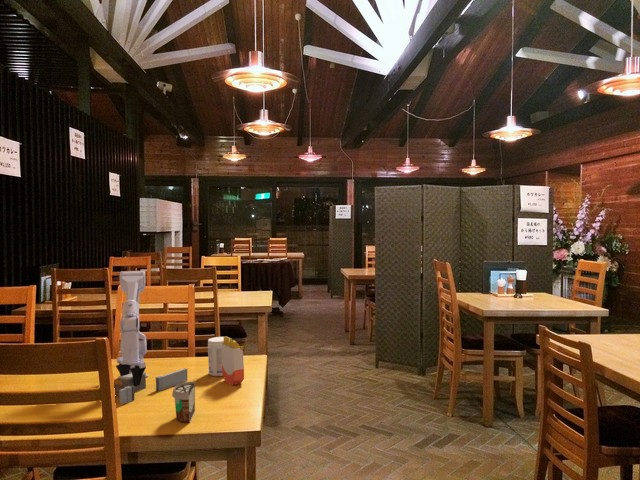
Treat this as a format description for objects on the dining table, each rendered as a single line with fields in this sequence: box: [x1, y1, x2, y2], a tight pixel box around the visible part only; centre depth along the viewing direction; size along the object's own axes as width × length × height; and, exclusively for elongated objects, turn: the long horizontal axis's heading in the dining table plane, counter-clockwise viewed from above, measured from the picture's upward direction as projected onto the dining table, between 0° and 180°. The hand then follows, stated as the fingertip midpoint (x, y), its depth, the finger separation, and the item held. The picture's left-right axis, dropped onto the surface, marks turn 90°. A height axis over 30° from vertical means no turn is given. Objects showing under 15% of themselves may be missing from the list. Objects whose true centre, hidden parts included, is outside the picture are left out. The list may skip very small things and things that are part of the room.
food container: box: [171, 380, 196, 424], centre depth 155 cm, size 12×6×10 cm, turn 5°
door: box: [113, 382, 135, 402], centre depth 174 cm, size 1×11×5 cm, turn 62°
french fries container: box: [222, 335, 245, 386], centre depth 190 cm, size 5×11×18 cm, turn 37°
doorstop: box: [120, 371, 147, 393], centre depth 182 cm, size 4×8×6 cm, turn 148°
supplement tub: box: [207, 336, 231, 377], centre depth 202 cm, size 10×10×15 cm
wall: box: [118, 367, 188, 406], centre depth 180 cm, size 2×30×5 cm, turn 148°
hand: (131, 384), depth 182 cm, fingers open, 6 cm apart
